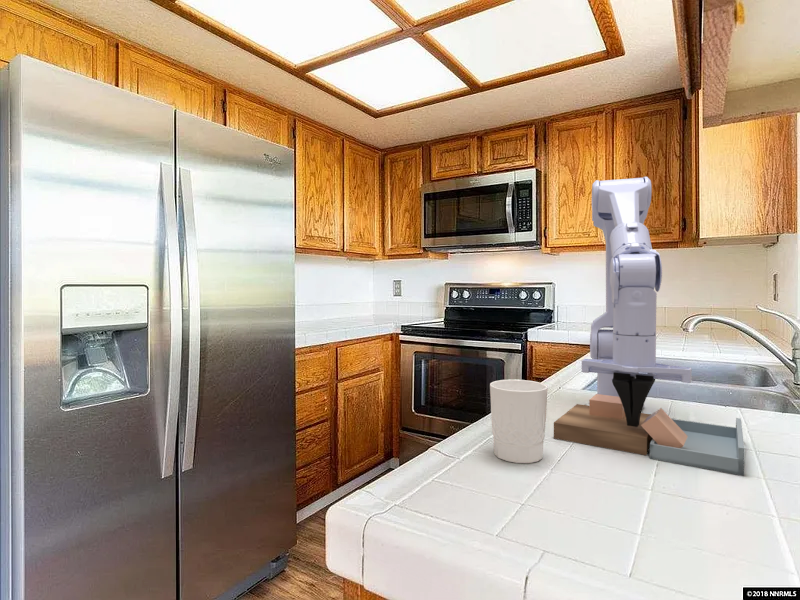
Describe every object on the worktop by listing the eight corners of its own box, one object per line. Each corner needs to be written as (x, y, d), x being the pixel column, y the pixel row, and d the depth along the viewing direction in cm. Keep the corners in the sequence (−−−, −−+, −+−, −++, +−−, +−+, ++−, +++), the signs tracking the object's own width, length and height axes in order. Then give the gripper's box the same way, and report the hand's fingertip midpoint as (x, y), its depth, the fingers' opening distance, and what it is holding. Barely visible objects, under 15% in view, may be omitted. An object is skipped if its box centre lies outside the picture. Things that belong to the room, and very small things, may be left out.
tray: (662, 429, 77) (662, 408, 77) (740, 441, 71) (740, 418, 71) (649, 458, 64) (649, 433, 64) (743, 476, 58) (744, 448, 58)
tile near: (647, 417, 70) (660, 407, 69) (673, 445, 68) (687, 436, 67) (640, 425, 66) (655, 415, 65) (668, 455, 64) (683, 445, 63)
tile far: (596, 408, 81) (596, 393, 81) (627, 412, 78) (627, 397, 78) (589, 414, 77) (589, 399, 77) (622, 419, 74) (622, 403, 74)
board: (576, 417, 84) (577, 404, 84) (658, 430, 77) (658, 415, 77) (553, 438, 73) (553, 422, 73) (646, 455, 65) (646, 437, 65)
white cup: (482, 459, 64) (482, 387, 64) (498, 442, 71) (498, 377, 71) (541, 469, 60) (541, 393, 60) (551, 450, 67) (552, 382, 67)
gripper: (576, 333, 70) (575, 423, 70) (689, 339, 61) (688, 441, 62) (588, 330, 76) (587, 412, 76) (692, 335, 67) (691, 428, 68)
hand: (633, 424), depth 69 cm, fingers closed
